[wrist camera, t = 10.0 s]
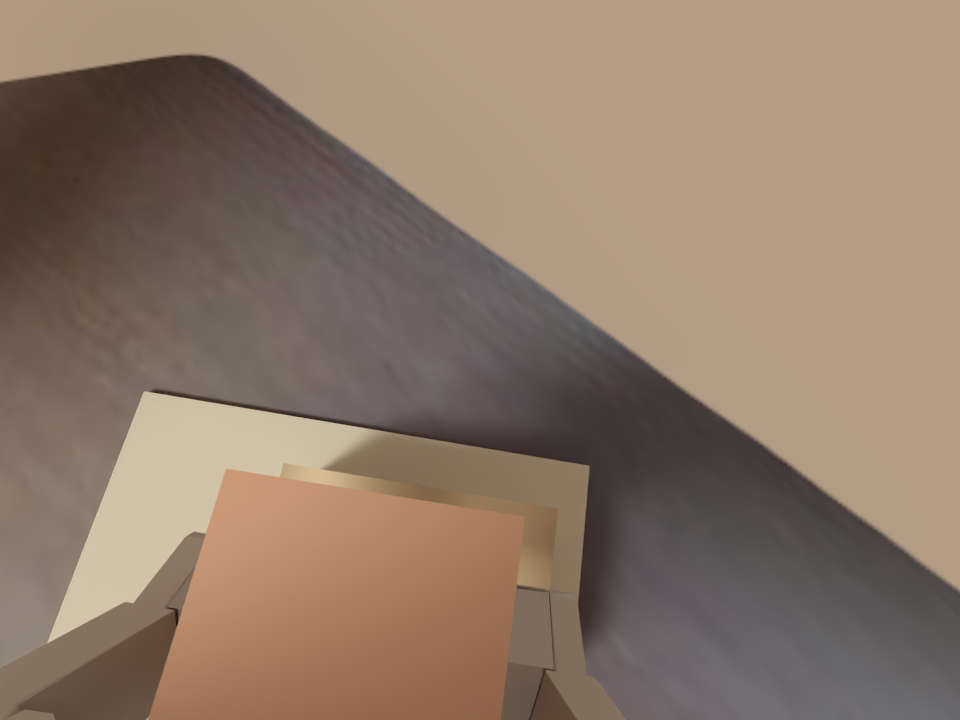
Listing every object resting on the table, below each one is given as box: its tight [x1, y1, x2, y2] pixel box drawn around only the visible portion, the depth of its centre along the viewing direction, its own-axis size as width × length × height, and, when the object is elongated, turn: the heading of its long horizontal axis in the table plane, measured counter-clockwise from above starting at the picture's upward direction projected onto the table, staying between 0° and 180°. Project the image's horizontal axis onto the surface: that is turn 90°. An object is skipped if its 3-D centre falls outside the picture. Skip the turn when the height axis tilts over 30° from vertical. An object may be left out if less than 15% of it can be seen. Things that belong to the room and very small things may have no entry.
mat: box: [48, 391, 590, 720], centre depth 22 cm, size 20×14×1 cm
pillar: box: [148, 469, 525, 720], centre depth 10 cm, size 4×4×8 cm
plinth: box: [280, 463, 558, 590], centre depth 20 cm, size 10×7×4 cm
